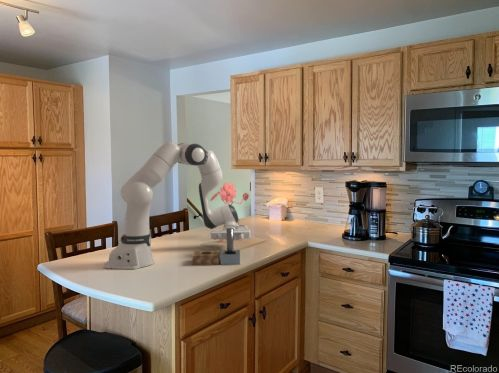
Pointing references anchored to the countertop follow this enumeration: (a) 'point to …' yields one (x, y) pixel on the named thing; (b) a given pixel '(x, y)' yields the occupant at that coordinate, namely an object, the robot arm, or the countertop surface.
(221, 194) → the figurine
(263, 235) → the countertop surface
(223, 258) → the socket block
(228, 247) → the steel axle
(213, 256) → the wooden square hole block
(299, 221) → the countertop surface
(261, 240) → the countertop surface
